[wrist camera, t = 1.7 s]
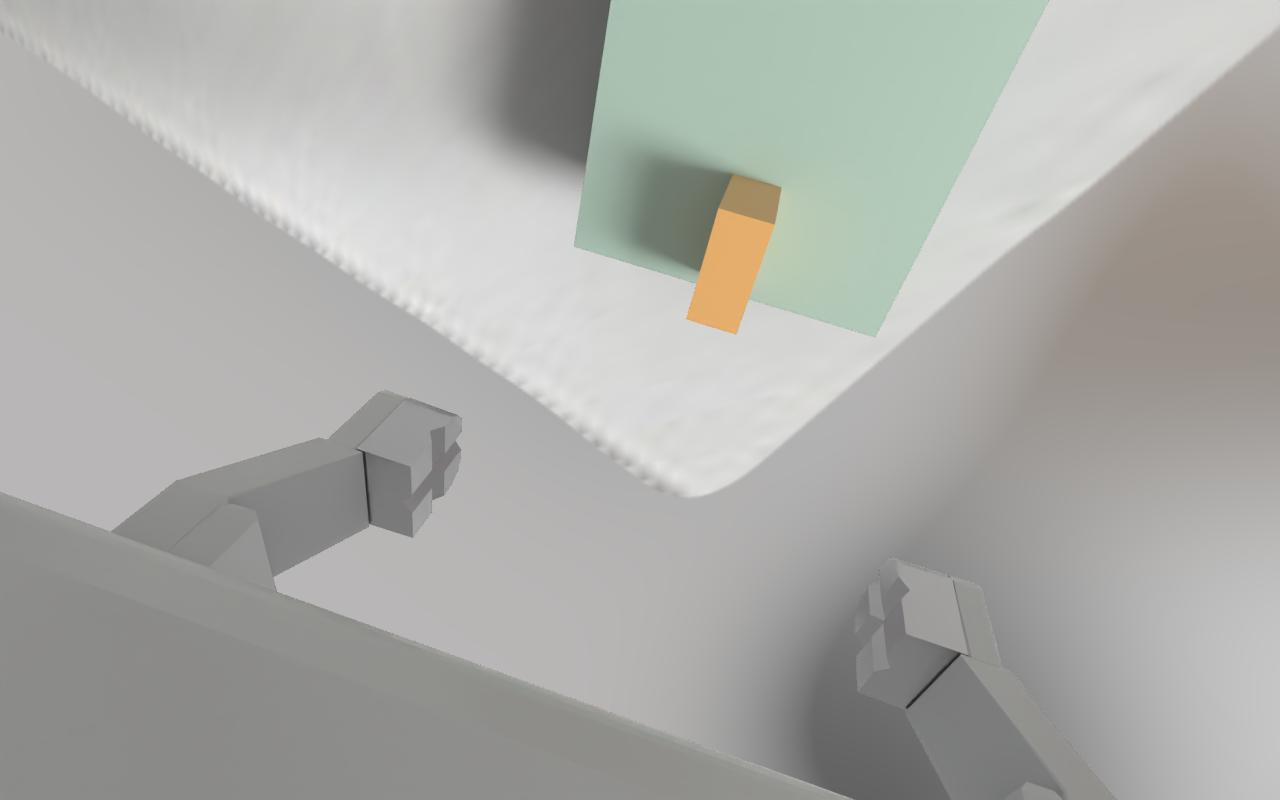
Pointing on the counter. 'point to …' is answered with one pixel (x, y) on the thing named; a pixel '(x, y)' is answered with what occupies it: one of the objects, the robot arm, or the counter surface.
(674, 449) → the counter surface
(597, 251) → the lid
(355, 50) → the counter surface
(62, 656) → the robot arm
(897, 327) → the counter surface
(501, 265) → the counter surface
